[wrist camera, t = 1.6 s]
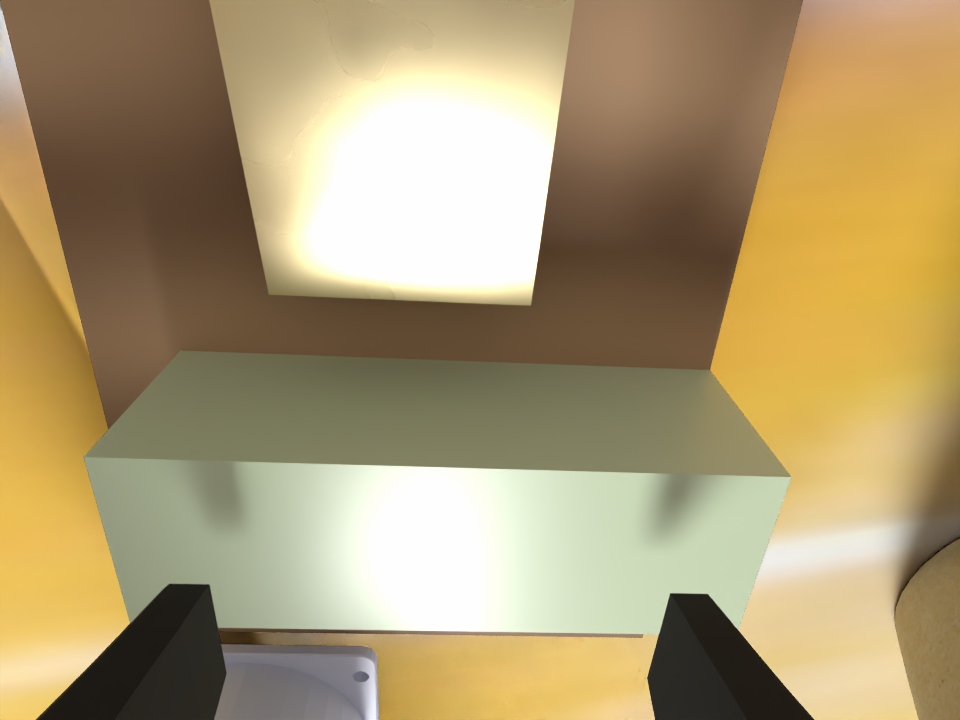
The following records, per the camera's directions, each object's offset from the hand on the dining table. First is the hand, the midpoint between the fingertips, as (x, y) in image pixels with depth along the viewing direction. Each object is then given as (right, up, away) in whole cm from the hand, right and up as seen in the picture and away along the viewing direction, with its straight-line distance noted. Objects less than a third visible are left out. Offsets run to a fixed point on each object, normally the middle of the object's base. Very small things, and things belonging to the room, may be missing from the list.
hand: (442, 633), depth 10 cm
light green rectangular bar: (0, +3, +5) cm, 6 cm away
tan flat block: (-1, +8, 0) cm, 8 cm away
